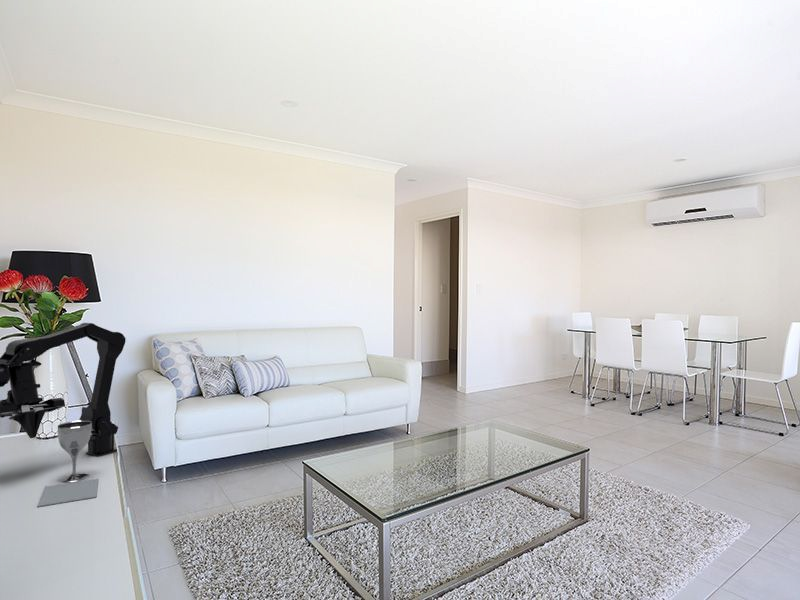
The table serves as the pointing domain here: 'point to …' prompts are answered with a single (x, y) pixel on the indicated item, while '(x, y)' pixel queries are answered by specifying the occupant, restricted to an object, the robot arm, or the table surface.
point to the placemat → (68, 492)
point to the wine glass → (74, 444)
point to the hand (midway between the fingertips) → (33, 437)
